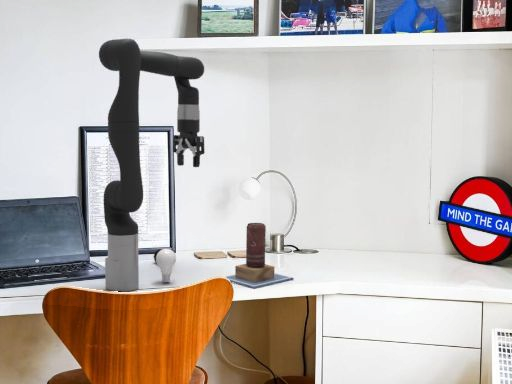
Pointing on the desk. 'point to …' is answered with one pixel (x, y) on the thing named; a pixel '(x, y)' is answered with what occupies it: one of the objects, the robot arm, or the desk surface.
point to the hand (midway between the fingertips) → (188, 166)
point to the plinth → (254, 273)
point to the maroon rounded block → (255, 245)
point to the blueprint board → (277, 279)
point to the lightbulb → (166, 263)
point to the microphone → (156, 254)
